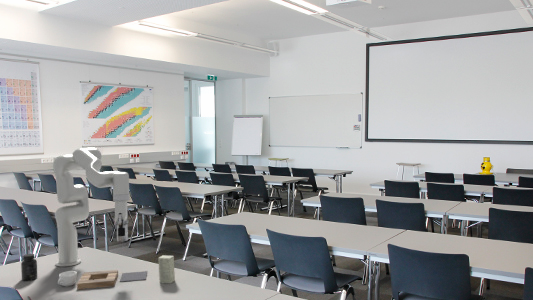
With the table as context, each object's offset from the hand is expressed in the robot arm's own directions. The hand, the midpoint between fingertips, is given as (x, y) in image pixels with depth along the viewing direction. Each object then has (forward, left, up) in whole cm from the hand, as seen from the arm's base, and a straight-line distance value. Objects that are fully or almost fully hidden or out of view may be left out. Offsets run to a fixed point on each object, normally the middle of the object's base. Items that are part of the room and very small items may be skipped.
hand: (122, 234), depth 208 cm
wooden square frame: (+2, -11, -22) cm, 25 cm away
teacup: (+3, -25, -22) cm, 34 cm away
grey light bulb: (0, 0, -3) cm, 3 cm away
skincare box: (+10, +21, -22) cm, 32 cm away
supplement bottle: (-11, -45, -22) cm, 52 cm away
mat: (-1, +5, -22) cm, 22 cm away
